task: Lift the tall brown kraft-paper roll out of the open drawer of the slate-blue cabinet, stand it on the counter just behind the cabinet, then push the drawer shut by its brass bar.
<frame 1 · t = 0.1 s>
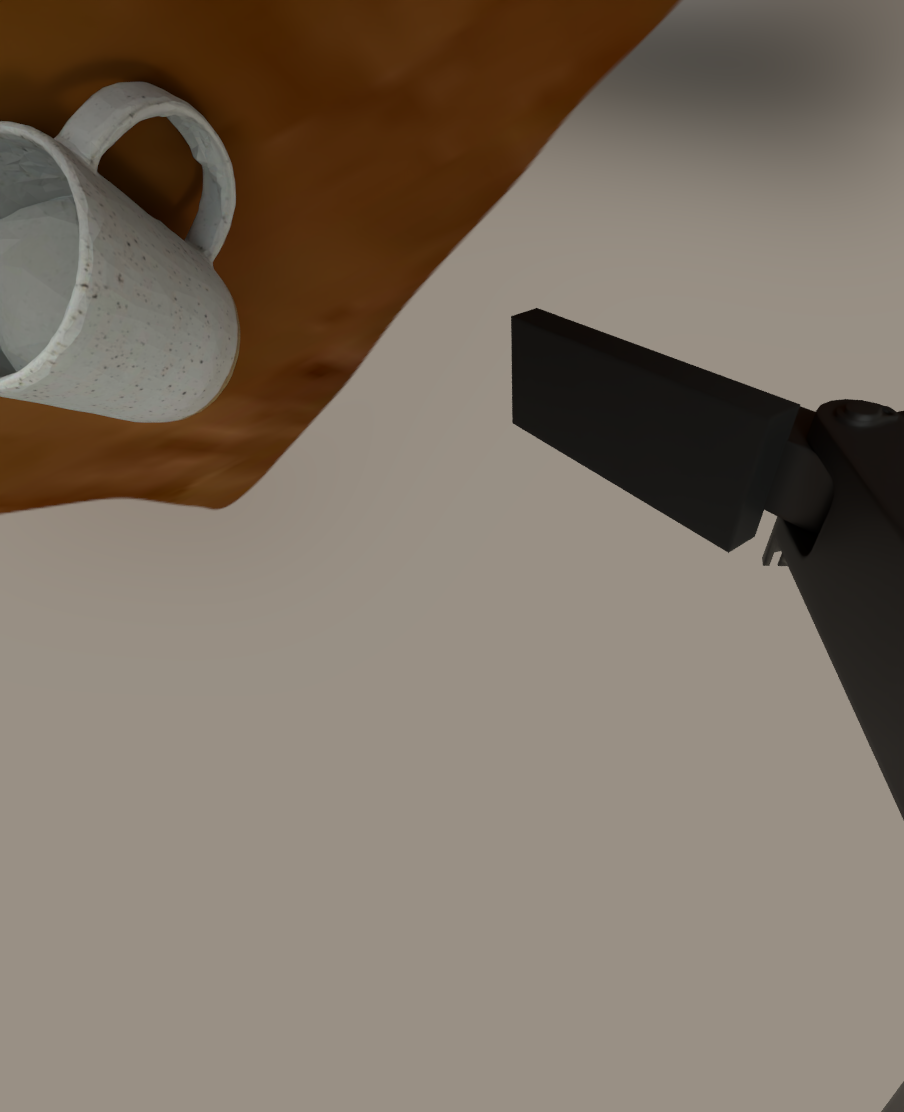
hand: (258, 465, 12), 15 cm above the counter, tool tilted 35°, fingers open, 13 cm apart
ceramic mug: (71, 192, 20), on the counter
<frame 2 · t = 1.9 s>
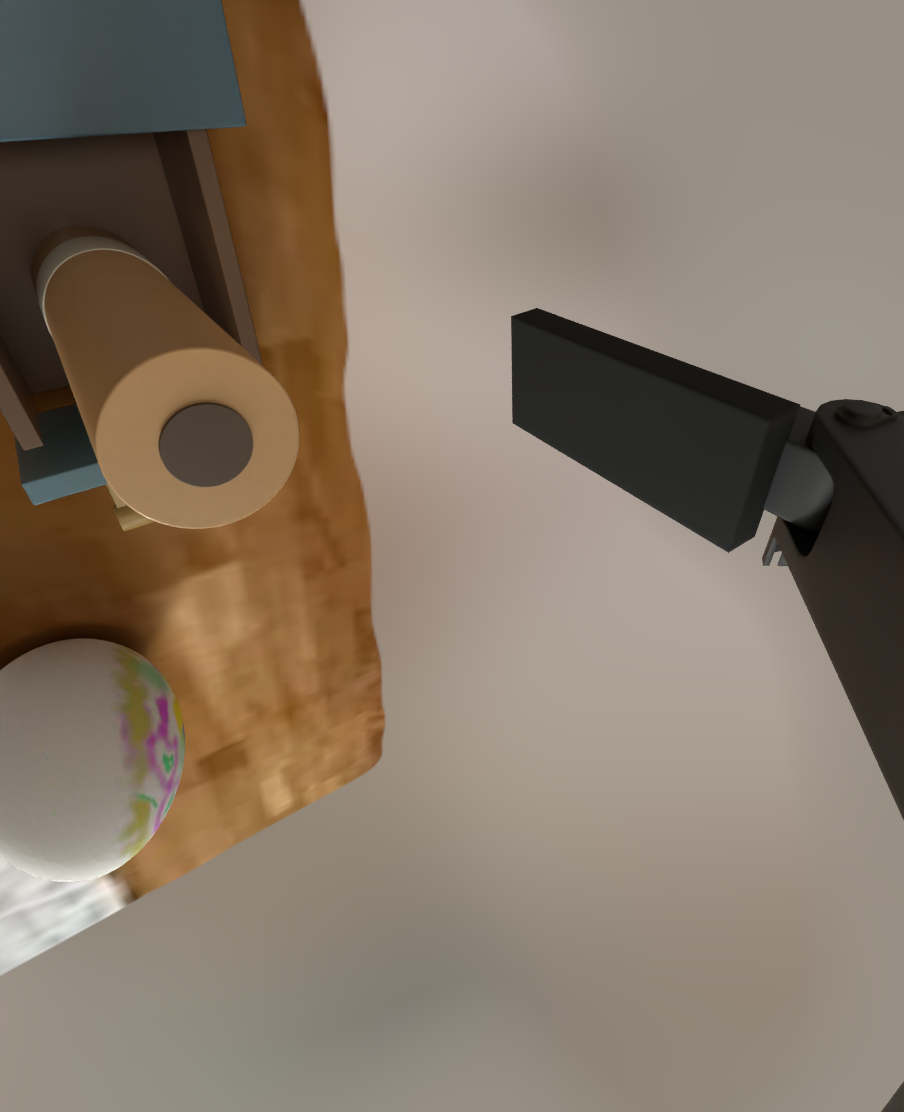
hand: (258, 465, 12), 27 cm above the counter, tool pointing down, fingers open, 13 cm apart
drawer: (121, 340, 28), point 5 cm above the counter, slide at 12.0 cm, touching paper roll
paper roll: (96, 285, 28), point 2 cm above the counter, touching drawer
decorative egg: (68, 681, 41), on the counter
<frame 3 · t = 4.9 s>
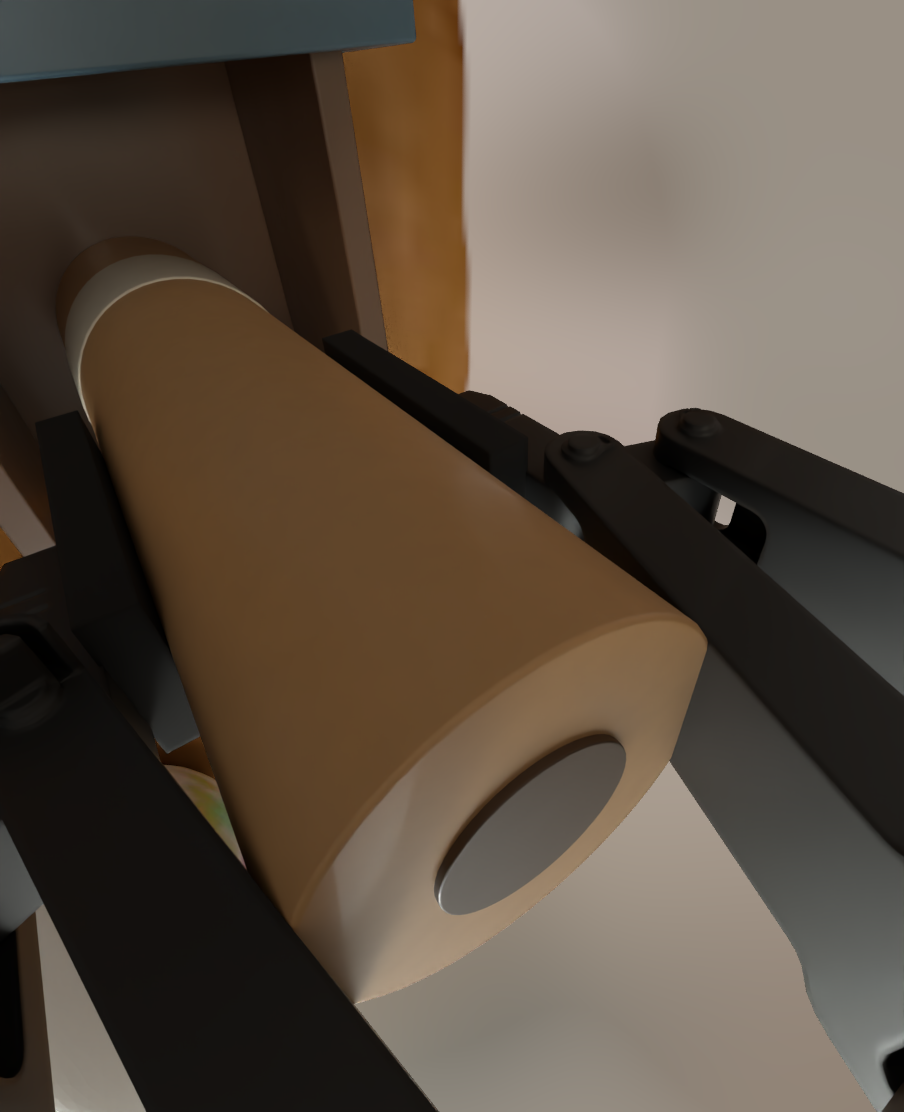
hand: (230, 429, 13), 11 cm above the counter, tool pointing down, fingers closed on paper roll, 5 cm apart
drawer: (192, 408, 18), point 5 cm above the counter, slide at 12.0 cm, touching paper roll
paper roll: (150, 324, 19), point 2 cm above the counter, touching drawer, gripper
decorative egg: (127, 813, 33), on the counter
when the fingers open (9 cm above the counter, at t = 13.3 s): paper roll stays where it is, on the counter.
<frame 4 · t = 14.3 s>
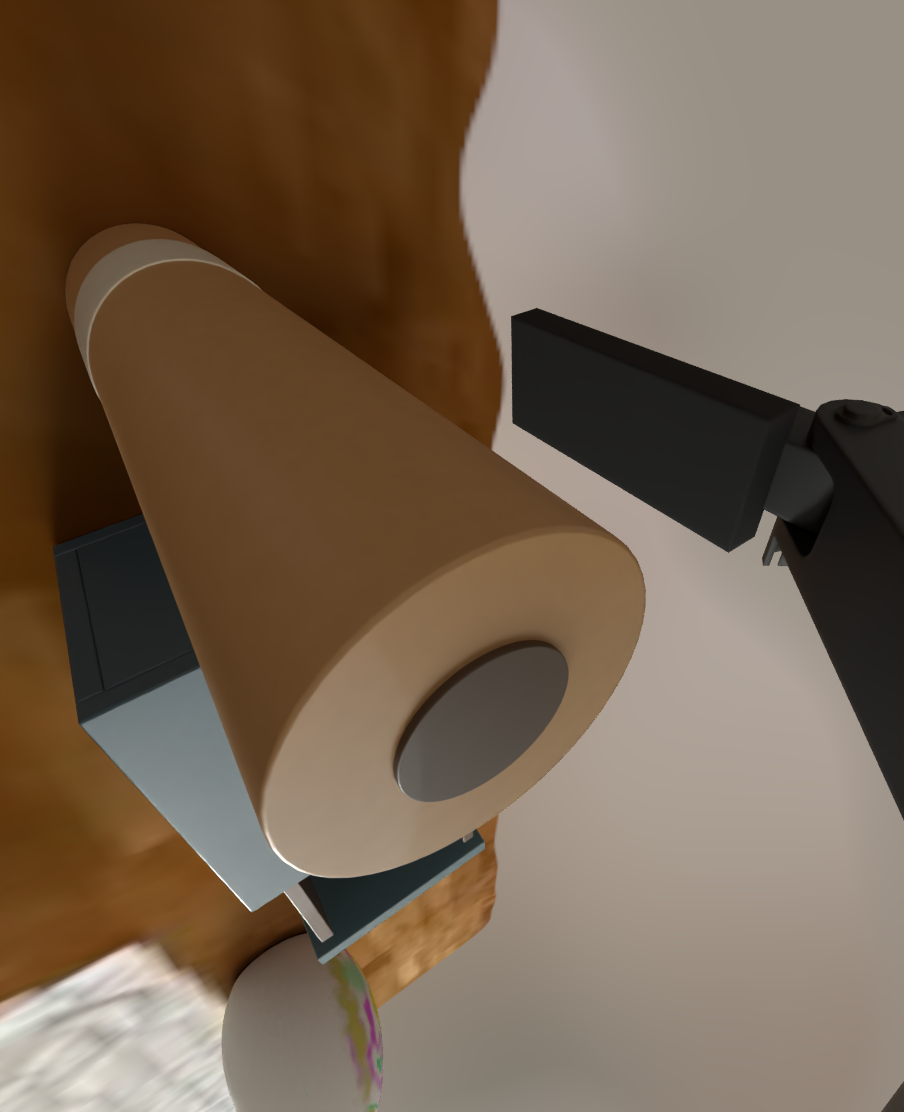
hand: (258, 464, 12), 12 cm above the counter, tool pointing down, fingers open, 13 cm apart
cabinet: (275, 607, 30), on the counter
drawer: (369, 820, 37), point 5 cm above the counter, slide at 12.0 cm
paper roll: (154, 308, 20), on the counter
decorative egg: (278, 961, 52), on the counter
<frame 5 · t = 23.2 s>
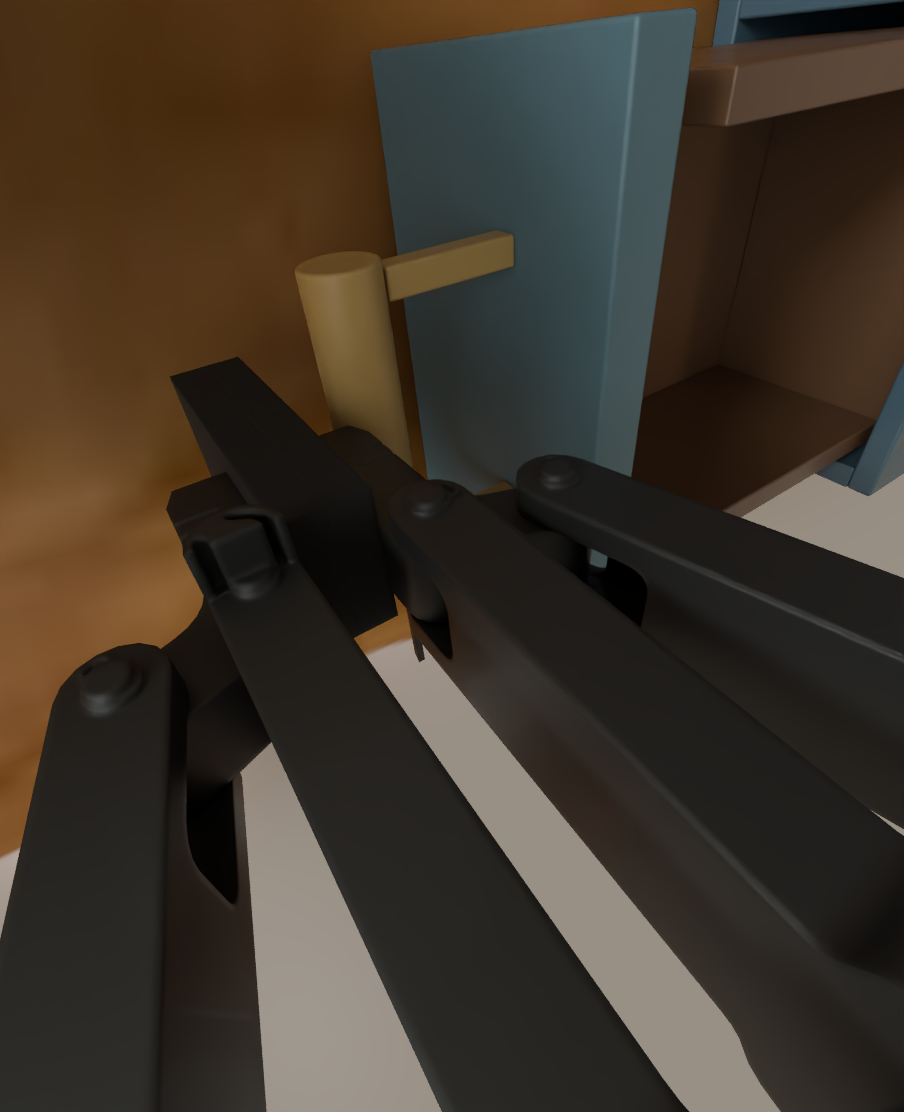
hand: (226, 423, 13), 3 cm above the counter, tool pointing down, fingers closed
cabinet: (805, 199, 25), on the counter
drawer: (634, 321, 16), point 5 cm above the counter, slide at 11.3 cm, touching gripper
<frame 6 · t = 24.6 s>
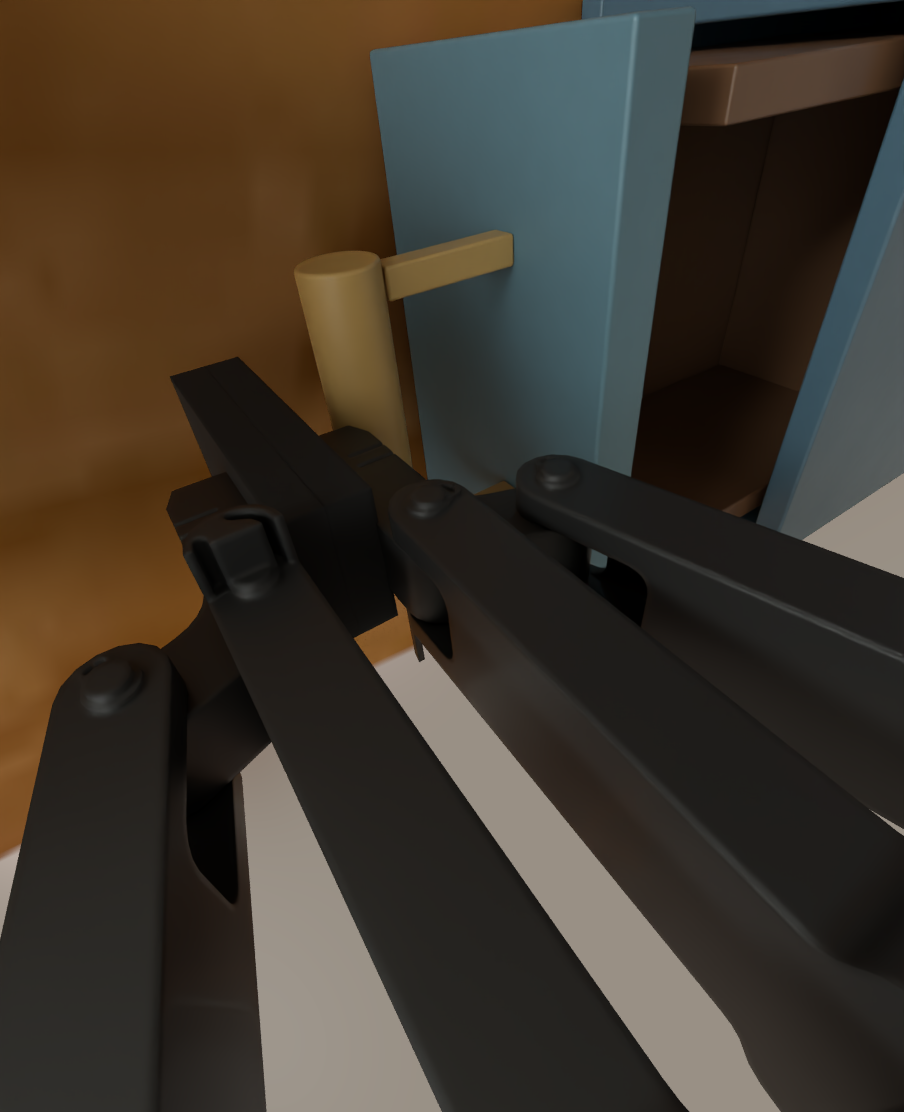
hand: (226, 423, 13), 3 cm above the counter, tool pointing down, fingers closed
cabinet: (719, 224, 23), on the counter
drawer: (633, 320, 16), point 5 cm above the counter, slide at 5.8 cm, touching gripper
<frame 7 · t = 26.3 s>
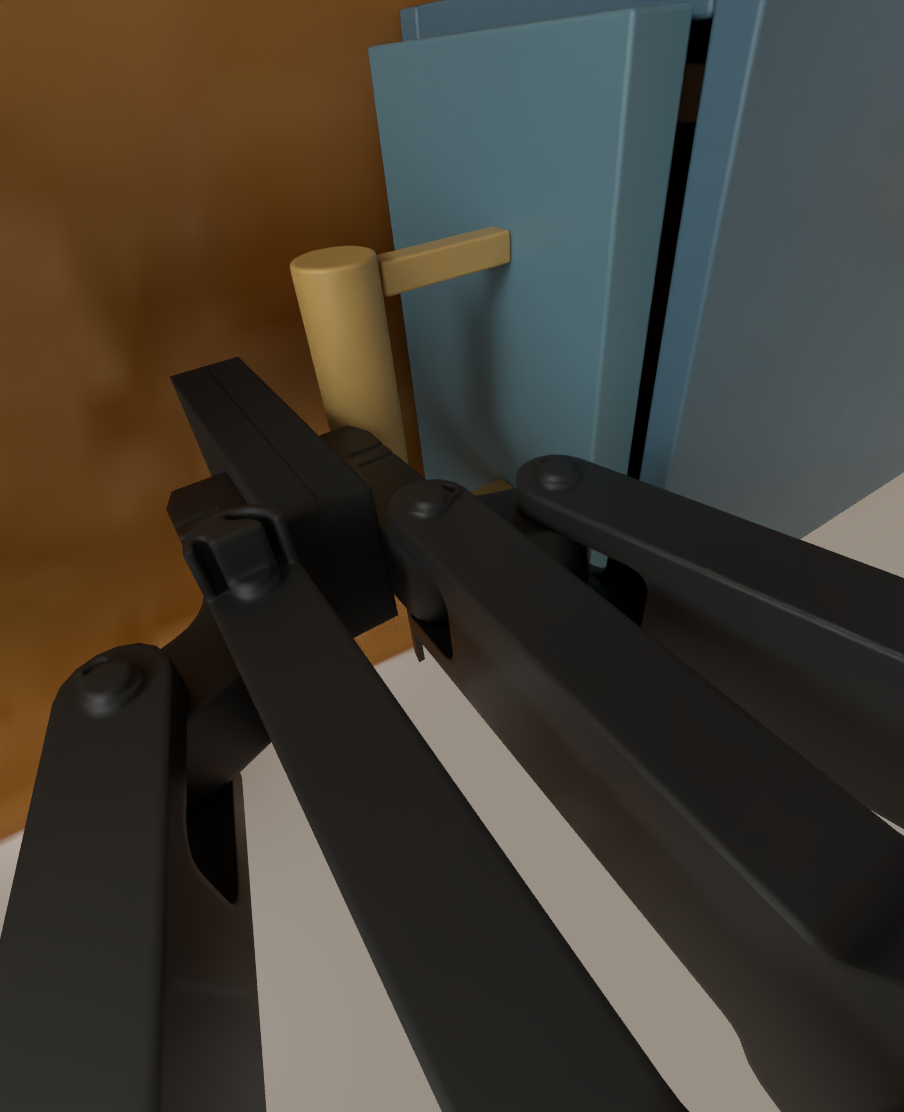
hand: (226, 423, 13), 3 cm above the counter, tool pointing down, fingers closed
cabinet: (614, 256, 21), on the counter
drawer: (631, 319, 16), point 5 cm above the counter, slide at 0.2 cm, touching gripper
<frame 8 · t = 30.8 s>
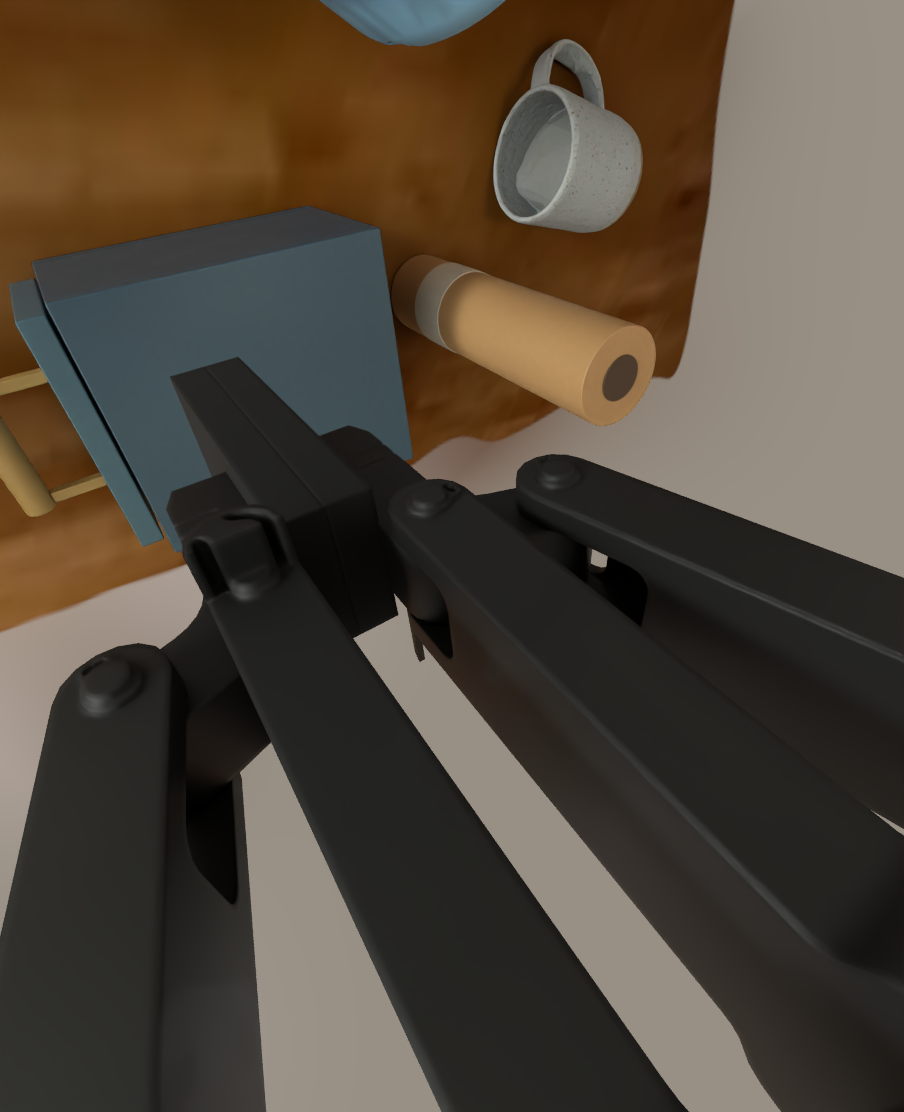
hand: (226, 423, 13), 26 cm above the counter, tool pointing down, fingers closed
cabinet: (222, 348, 37), on the counter
drawer: (175, 392, 32), point 5 cm above the counter, slide at 0.2 cm
ceramic mug: (535, 141, 42), on the counter
paper roll: (421, 293, 43), on the counter
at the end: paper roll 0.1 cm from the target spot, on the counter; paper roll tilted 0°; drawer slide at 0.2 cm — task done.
